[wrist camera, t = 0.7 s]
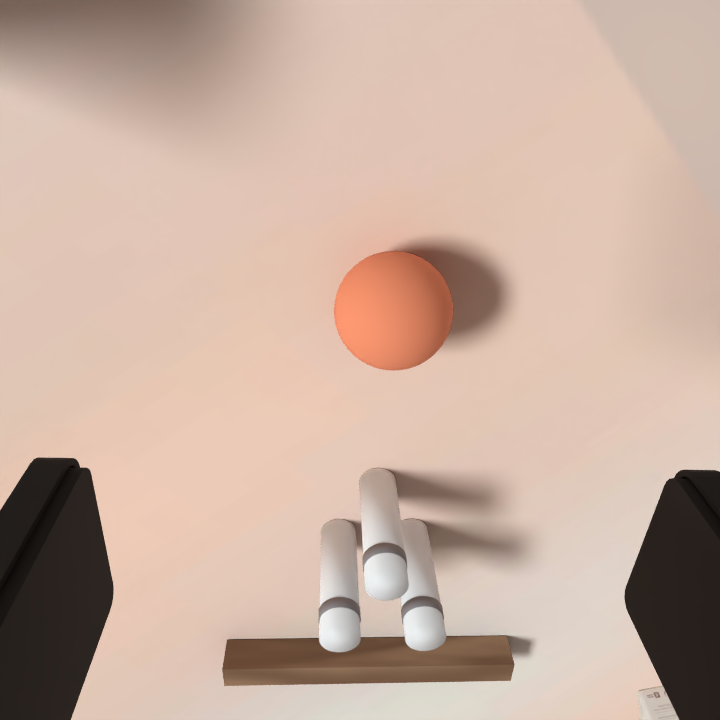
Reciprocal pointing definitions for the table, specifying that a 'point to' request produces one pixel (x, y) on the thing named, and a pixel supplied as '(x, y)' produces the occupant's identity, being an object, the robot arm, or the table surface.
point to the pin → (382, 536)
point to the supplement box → (655, 705)
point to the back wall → (366, 661)
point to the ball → (393, 310)
